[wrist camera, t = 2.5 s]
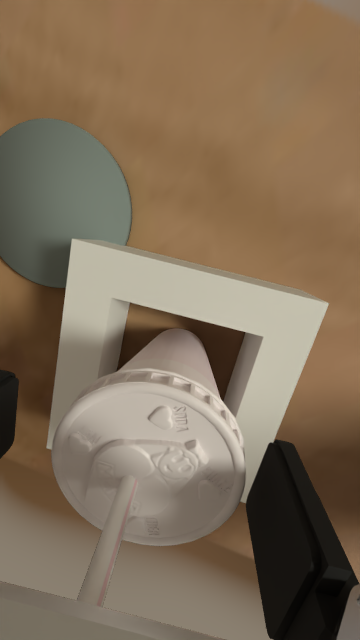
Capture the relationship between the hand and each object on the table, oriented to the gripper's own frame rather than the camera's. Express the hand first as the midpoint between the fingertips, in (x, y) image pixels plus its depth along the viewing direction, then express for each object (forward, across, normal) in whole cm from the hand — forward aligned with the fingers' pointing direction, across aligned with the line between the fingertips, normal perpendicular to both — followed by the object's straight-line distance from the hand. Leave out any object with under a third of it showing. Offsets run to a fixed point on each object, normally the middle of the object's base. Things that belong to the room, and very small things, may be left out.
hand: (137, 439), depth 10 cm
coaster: (+9, +8, -7) cm, 14 cm away
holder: (+8, -1, 0) cm, 8 cm away
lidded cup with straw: (+8, -1, 0) cm, 9 cm away
